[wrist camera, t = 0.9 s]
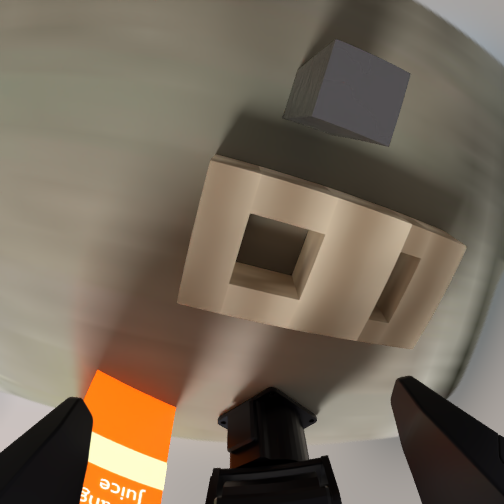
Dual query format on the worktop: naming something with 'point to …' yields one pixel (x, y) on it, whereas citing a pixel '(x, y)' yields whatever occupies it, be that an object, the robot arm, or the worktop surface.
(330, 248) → the socket block
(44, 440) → the robot arm
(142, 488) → the orange juice
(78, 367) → the worktop surface
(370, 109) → the square bit
